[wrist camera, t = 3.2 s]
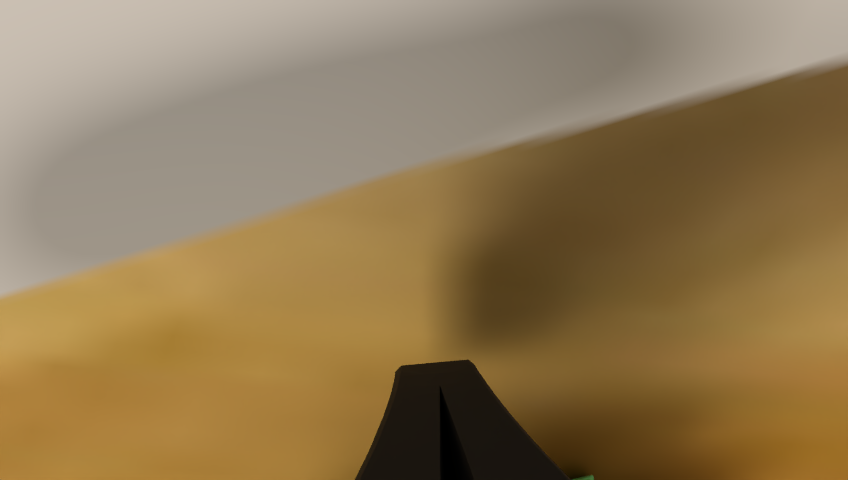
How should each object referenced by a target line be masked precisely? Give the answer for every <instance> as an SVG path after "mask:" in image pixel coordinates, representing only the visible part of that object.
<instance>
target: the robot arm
mask: <svg viewBox="0 0 848 480" xmlns="http://www.w3.org/2000/svg"><path fill="white" fill-rule="evenodd" d="M355 480H571V479H570V478H569V477H568V476H567V475H566V474H565V473H564V472H563V471H562V470H561V469H560V468H559V467H558V466H557V465H556V464H555V463H554V462H553V461H552V460H551V459H550V458H549V457H548V456H547V455H546V454H545V453H544V452H543V451H542V449H541V448H540V447H539V446H538V445H537V444H536V443H535V442H534V441H533V440H532V439H531V437H530V436H529V435H528V434H527V433H526V432H525V430H524V429H523V428H522V427H521V426H520V425H519V423H518V422H517V421H516V420H515V419H514V418H513V417H512V415H511V414H510V413H509V412H508V410H507V409H506V408H505V407H504V406H503V404H502V403H501V402H500V400H499V399H498V398H497V396H496V395H495V394H494V393H493V391H492V390H491V389H490V387H489V386H488V384H487V383H486V382H485V380H484V379H483V377H482V376H481V374H480V373H479V371H478V370H477V368H476V367H475V365H474V364H473V363H472V362H471V361H469V360H459V361H448V362H437V363H426V364H415V365H404V366H401V367H400V368H399V369H398V370H397V371H396V372H395V379H394V384H393V388H392V392H391V395H390V399H389V402H388V405H387V407H386V410H385V413H384V416H383V419H382V421H381V424H380V426H379V428H378V431H377V433H376V436H375V438H374V441H373V443H372V445H371V448H370V450H369V452H368V454H367V456H366V458H365V460H364V462H363V464H362V466H361V468H360V470H359V473H358V475H357V477H356V479H355Z"/></svg>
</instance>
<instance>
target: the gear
mask: <svg viewBox="0 0 848 480" xmlns="http://www.w3.org/2000/svg"><path fill="white" fill-rule="evenodd" d="M571 480H594V477H593V475H589V476H583V477H579V478H575V479H571Z"/></svg>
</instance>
